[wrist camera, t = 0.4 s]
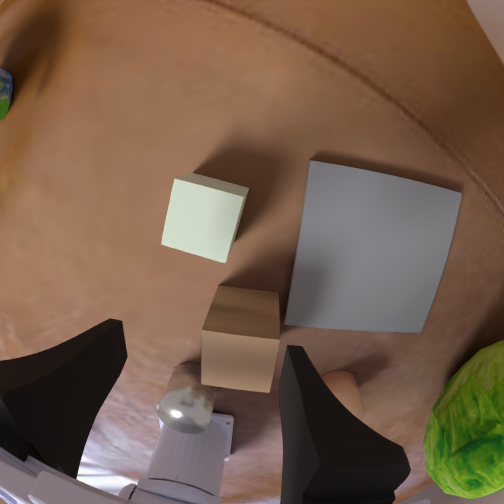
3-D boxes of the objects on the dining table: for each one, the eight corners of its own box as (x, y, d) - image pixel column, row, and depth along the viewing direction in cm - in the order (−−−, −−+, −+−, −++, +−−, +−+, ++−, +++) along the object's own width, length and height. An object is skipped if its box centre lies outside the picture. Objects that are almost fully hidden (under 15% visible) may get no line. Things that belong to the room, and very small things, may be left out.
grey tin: (217, 398, 26) (209, 437, 22) (173, 390, 27) (160, 427, 22) (219, 366, 25) (209, 407, 20) (171, 358, 25) (154, 396, 20)
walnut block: (270, 340, 24) (269, 392, 18) (215, 333, 24) (201, 383, 18) (278, 292, 22) (280, 339, 17) (218, 285, 22) (201, 330, 17)
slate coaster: (417, 327, 23) (420, 332, 22) (284, 319, 23) (284, 324, 22) (456, 191, 19) (462, 193, 18) (308, 159, 19) (310, 160, 18)
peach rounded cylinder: (348, 399, 26) (355, 429, 22) (309, 399, 26) (313, 430, 22) (361, 370, 24) (371, 401, 21) (319, 369, 25) (325, 401, 21)
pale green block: (233, 242, 21) (225, 263, 17) (180, 227, 21) (161, 244, 17) (249, 187, 20) (244, 197, 16) (192, 172, 20) (174, 178, 16)
